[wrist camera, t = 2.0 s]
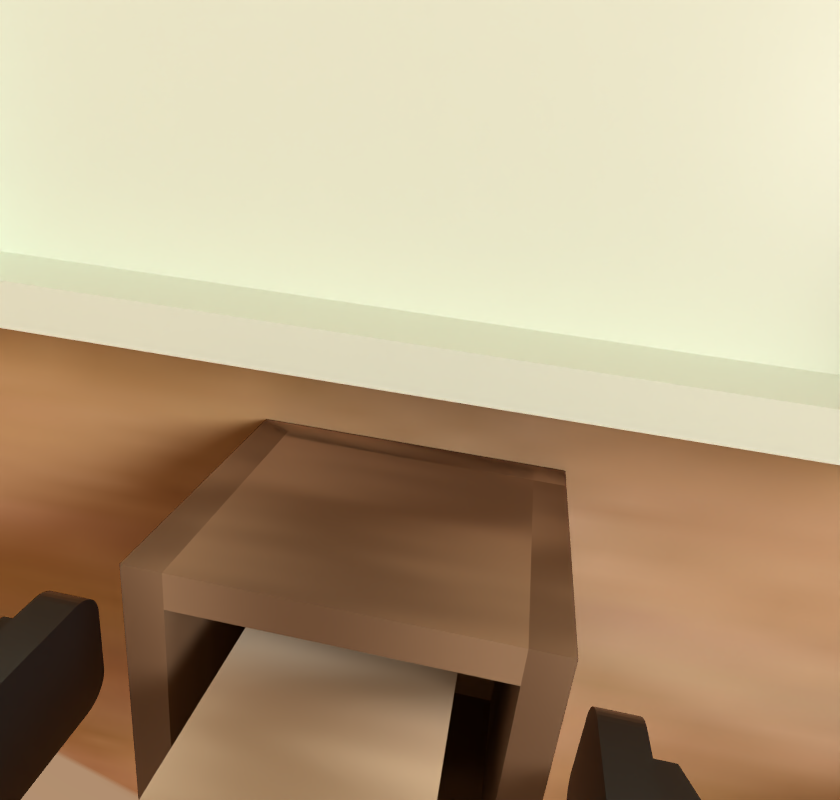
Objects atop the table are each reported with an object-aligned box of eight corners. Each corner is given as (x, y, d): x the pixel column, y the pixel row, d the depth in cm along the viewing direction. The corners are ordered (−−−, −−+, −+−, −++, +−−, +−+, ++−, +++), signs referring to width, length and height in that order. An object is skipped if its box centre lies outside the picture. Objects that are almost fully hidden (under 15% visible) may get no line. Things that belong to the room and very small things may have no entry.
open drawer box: (565, 470, 13) (578, 659, 8) (515, 705, 15) (502, 957, 10) (266, 419, 13) (119, 564, 9) (261, 650, 16) (143, 862, 11)
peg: (479, 536, 13) (392, 1076, 5) (458, 664, 14) (363, 1247, 7) (320, 506, 13) (33, 971, 6) (313, 632, 14) (69, 1151, 7)
